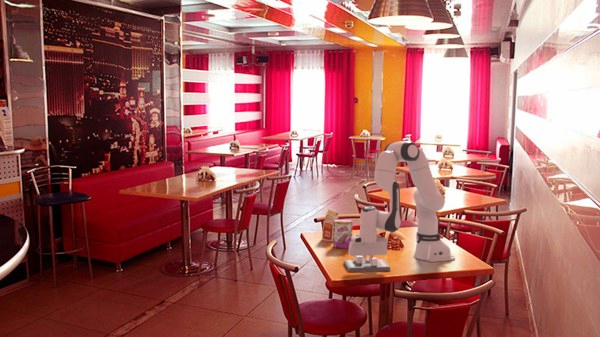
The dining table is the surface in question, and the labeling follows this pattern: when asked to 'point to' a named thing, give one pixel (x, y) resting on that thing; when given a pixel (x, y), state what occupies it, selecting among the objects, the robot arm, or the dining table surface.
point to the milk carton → (329, 225)
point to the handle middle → (359, 259)
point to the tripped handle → (374, 261)
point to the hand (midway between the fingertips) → (367, 263)
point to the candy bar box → (342, 233)
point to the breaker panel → (366, 266)
